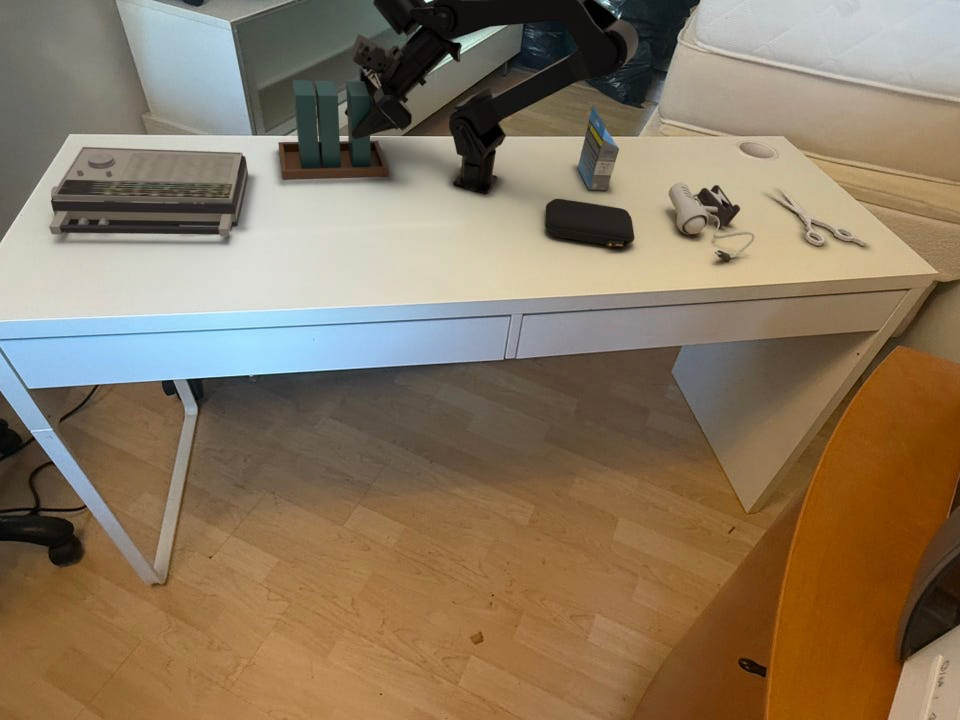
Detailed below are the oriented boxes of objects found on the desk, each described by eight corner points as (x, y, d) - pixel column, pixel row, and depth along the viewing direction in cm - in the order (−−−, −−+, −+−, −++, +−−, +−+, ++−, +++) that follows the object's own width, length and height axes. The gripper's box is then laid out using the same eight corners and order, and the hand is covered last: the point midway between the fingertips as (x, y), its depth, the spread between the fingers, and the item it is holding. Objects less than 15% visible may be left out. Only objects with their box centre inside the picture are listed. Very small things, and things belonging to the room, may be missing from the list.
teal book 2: (337, 155, 110) (334, 80, 101) (341, 171, 106) (338, 95, 97) (319, 155, 109) (314, 80, 100) (323, 171, 105) (318, 95, 96)
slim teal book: (366, 154, 112) (364, 81, 103) (371, 170, 108) (370, 95, 99) (349, 155, 111) (346, 81, 102) (353, 171, 107) (350, 95, 98)
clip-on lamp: (749, 274, 105) (710, 200, 114) (773, 248, 100) (730, 173, 109) (691, 272, 101) (656, 195, 110) (713, 245, 96) (674, 167, 105)
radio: (244, 146, 99) (228, 212, 85) (248, 176, 102) (234, 244, 89) (76, 139, 94) (30, 208, 80) (87, 171, 98) (45, 242, 84)
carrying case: (542, 242, 99) (633, 256, 99) (546, 226, 97) (638, 240, 97) (544, 209, 106) (628, 222, 107) (547, 193, 104) (633, 206, 104)
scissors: (821, 247, 107) (751, 188, 119) (819, 251, 107) (750, 192, 120) (867, 242, 110) (794, 185, 123) (864, 246, 110) (792, 189, 123)
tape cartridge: (608, 191, 114) (627, 126, 105) (588, 190, 113) (605, 125, 105) (595, 168, 120) (612, 105, 111) (576, 167, 119) (591, 104, 111)
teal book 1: (317, 155, 109) (312, 80, 100) (320, 171, 105) (315, 95, 96) (299, 155, 108) (292, 80, 99) (302, 172, 104) (295, 95, 95)
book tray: (378, 151, 114) (378, 140, 113) (388, 179, 107) (388, 168, 106) (279, 153, 109) (278, 141, 108) (283, 182, 102) (281, 171, 101)
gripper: (372, 0, 100) (307, 69, 105) (392, 39, 88) (318, 116, 92) (417, 53, 108) (355, 115, 112) (442, 95, 95) (371, 163, 100)
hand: (349, 125), depth 104 cm, fingers open, 8 cm apart
